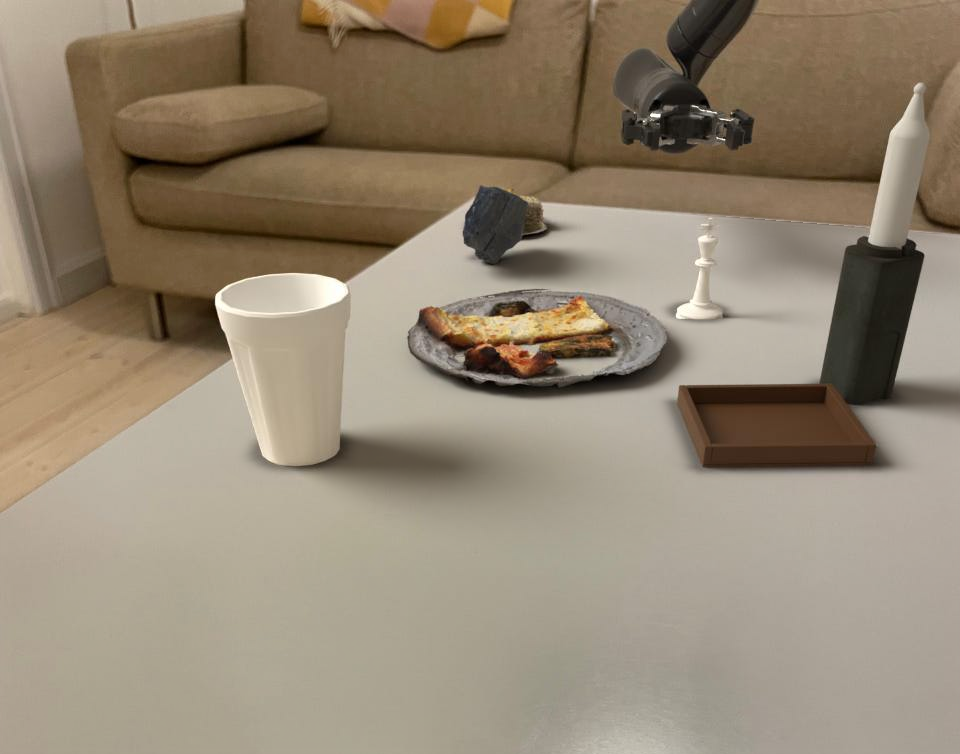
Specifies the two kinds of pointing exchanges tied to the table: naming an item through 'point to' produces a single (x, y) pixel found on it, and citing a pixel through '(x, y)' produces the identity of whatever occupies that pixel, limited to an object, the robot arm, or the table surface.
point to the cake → (532, 215)
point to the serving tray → (773, 426)
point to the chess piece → (703, 281)
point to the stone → (494, 223)
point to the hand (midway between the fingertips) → (696, 140)
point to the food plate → (534, 335)
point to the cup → (289, 360)
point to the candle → (880, 274)
